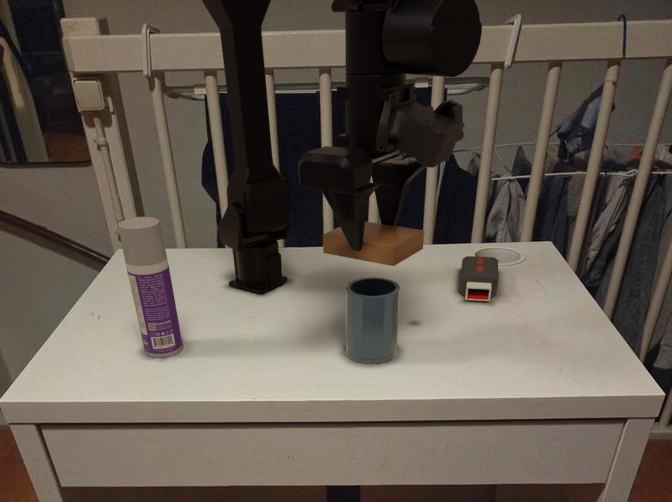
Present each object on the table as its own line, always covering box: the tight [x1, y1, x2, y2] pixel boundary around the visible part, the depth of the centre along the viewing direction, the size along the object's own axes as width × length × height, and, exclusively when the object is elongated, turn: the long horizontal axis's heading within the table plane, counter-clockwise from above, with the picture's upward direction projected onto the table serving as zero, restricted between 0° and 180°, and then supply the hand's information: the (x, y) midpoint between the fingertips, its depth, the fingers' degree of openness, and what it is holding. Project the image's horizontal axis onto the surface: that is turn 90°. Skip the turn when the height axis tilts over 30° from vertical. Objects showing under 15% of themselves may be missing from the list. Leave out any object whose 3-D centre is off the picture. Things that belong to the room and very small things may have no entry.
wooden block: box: [322, 221, 425, 267], centre depth 68 cm, size 9×6×2 cm
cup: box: [345, 276, 401, 365], centre depth 72 cm, size 6×6×8 cm
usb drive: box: [458, 255, 499, 302], centre depth 89 cm, size 5×12×3 cm, turn 167°
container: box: [117, 216, 184, 359], centre depth 72 cm, size 5×5×15 cm
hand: (372, 241), depth 68 cm, fingers closed on wooden block, 6 cm apart
